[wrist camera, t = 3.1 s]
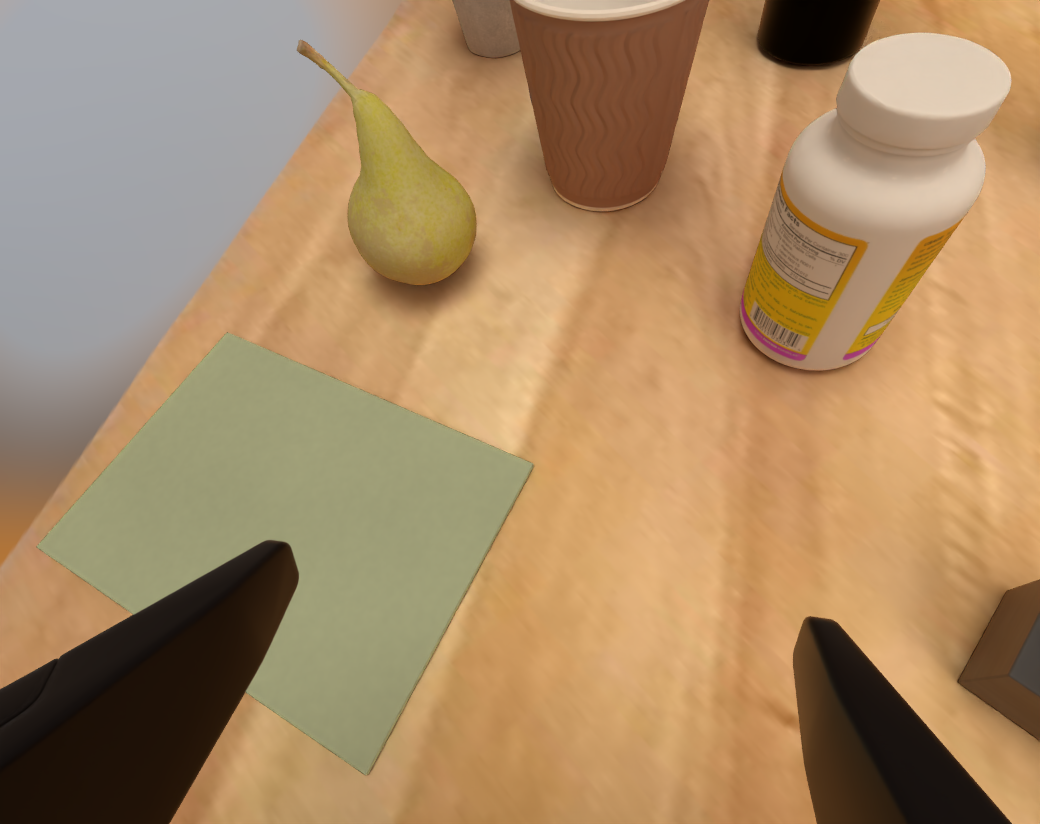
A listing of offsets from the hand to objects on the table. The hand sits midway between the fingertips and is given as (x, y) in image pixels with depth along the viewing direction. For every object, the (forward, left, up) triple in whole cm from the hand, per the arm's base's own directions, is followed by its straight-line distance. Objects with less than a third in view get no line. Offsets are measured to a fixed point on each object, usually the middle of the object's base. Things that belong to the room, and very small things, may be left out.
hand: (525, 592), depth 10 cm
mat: (+15, 0, -15) cm, 21 cm away
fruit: (+17, -16, -15) cm, 28 cm away
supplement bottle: (-4, -20, -15) cm, 26 cm away
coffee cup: (+10, -27, -15) cm, 33 cm away
